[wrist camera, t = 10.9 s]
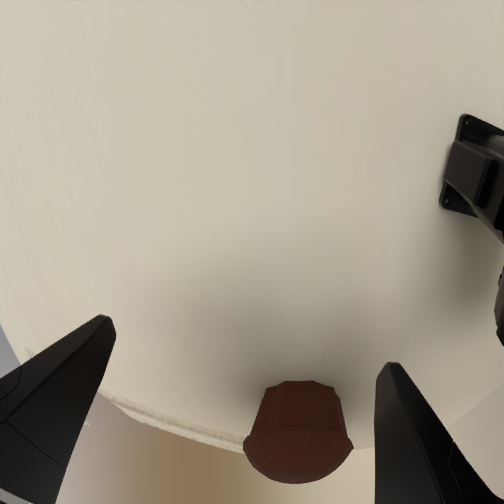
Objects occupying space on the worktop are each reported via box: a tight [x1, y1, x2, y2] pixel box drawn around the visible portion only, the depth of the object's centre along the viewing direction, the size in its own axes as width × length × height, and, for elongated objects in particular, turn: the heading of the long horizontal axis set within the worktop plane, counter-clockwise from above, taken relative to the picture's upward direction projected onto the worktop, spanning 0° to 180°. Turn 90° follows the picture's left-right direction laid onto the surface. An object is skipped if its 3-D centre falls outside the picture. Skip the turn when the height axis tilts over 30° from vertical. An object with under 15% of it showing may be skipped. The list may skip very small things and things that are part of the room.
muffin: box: [243, 380, 354, 484], centre depth 27 cm, size 12×11×10 cm
